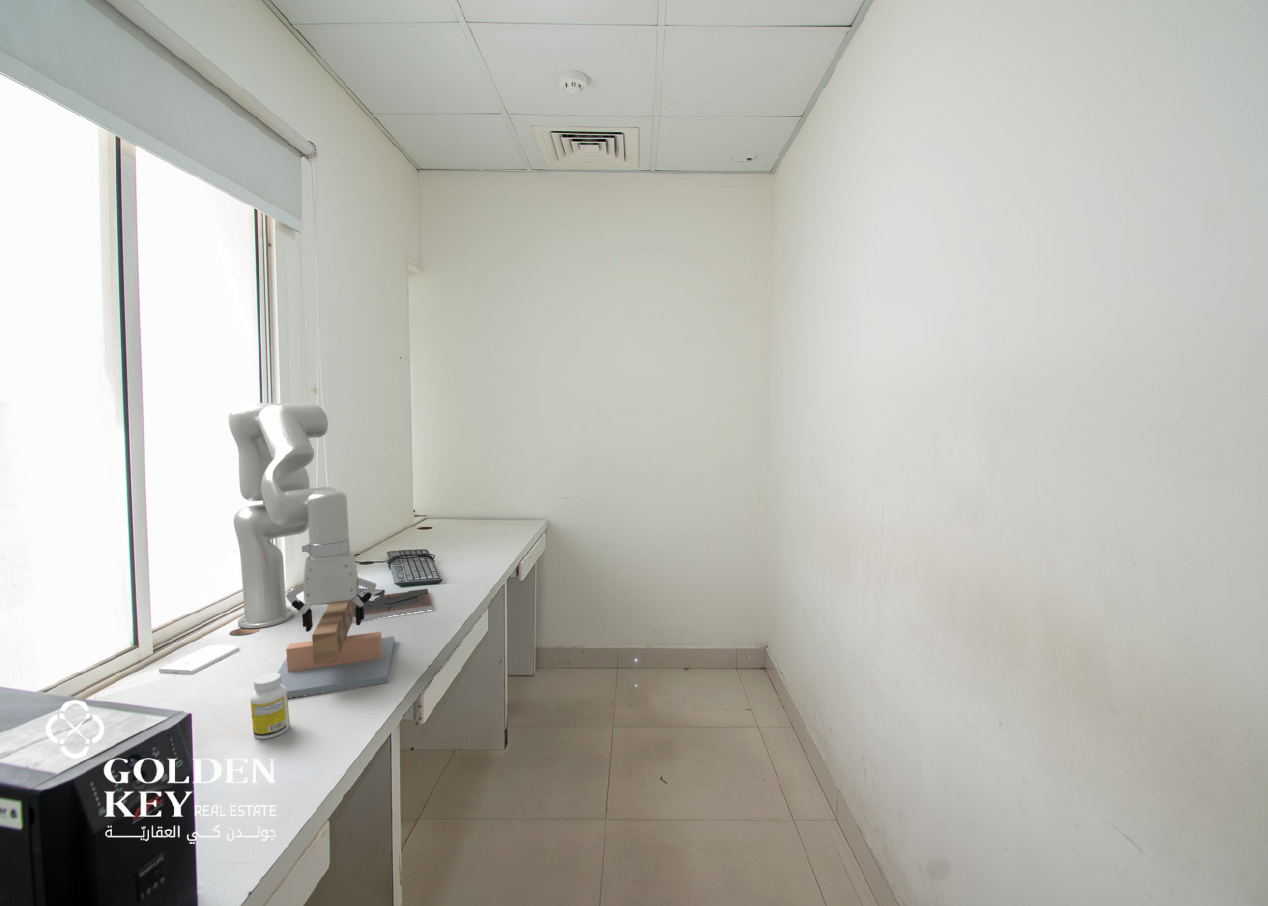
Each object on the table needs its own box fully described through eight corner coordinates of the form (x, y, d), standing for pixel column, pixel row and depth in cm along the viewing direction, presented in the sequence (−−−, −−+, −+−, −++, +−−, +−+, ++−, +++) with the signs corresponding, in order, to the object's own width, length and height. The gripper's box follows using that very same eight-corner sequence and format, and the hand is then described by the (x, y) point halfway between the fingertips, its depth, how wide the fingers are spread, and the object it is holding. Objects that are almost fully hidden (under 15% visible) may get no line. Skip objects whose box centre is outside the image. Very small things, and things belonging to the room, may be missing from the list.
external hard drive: (239, 653, 134) (192, 677, 122) (209, 651, 136) (158, 675, 123) (239, 646, 134) (191, 669, 122) (208, 644, 135) (158, 668, 123)
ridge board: (291, 656, 130) (289, 629, 130) (394, 642, 138) (393, 616, 137) (264, 702, 110) (262, 670, 109) (387, 682, 117) (386, 652, 116)
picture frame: (427, 596, 174) (349, 607, 165) (427, 588, 174) (349, 598, 165) (432, 613, 159) (346, 626, 150) (432, 604, 159) (346, 617, 150)
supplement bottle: (264, 723, 102) (260, 671, 101) (295, 722, 103) (292, 669, 102) (246, 741, 97) (242, 686, 96) (279, 739, 97) (275, 684, 96)
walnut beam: (334, 622, 134) (332, 597, 133) (352, 619, 135) (351, 595, 135) (313, 664, 111) (312, 635, 111) (336, 661, 113) (334, 632, 112)
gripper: (279, 557, 115) (284, 638, 116) (372, 549, 121) (376, 626, 122) (288, 548, 122) (293, 625, 124) (375, 541, 128) (379, 615, 129)
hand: (334, 626), depth 123 cm, fingers open, 9 cm apart
